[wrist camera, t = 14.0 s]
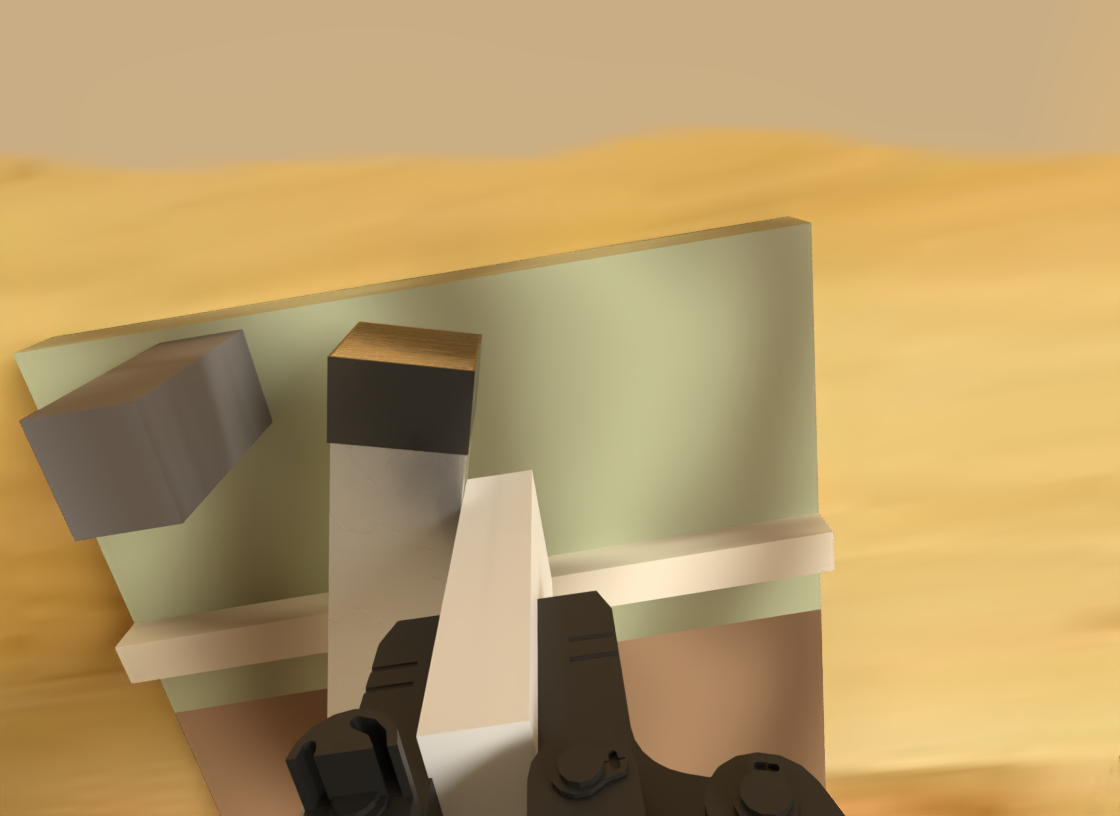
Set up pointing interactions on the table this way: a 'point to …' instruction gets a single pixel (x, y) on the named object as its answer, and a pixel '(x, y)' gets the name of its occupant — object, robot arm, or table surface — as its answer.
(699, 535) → the lever base plate
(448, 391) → the lock bar
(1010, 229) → the table surface
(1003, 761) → the table surface
